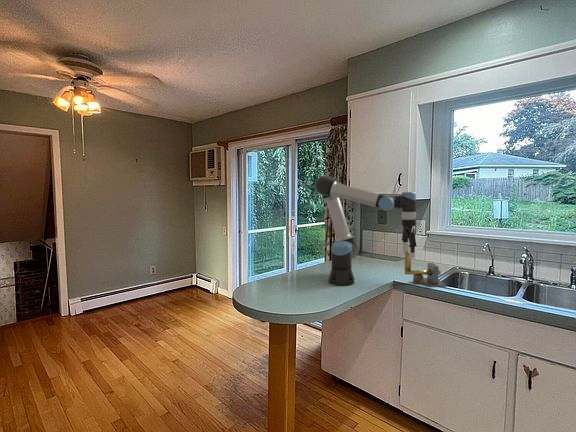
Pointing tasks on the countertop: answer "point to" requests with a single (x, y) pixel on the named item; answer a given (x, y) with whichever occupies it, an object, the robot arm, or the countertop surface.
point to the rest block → (418, 279)
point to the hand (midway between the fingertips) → (408, 255)
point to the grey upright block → (433, 277)
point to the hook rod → (414, 272)
